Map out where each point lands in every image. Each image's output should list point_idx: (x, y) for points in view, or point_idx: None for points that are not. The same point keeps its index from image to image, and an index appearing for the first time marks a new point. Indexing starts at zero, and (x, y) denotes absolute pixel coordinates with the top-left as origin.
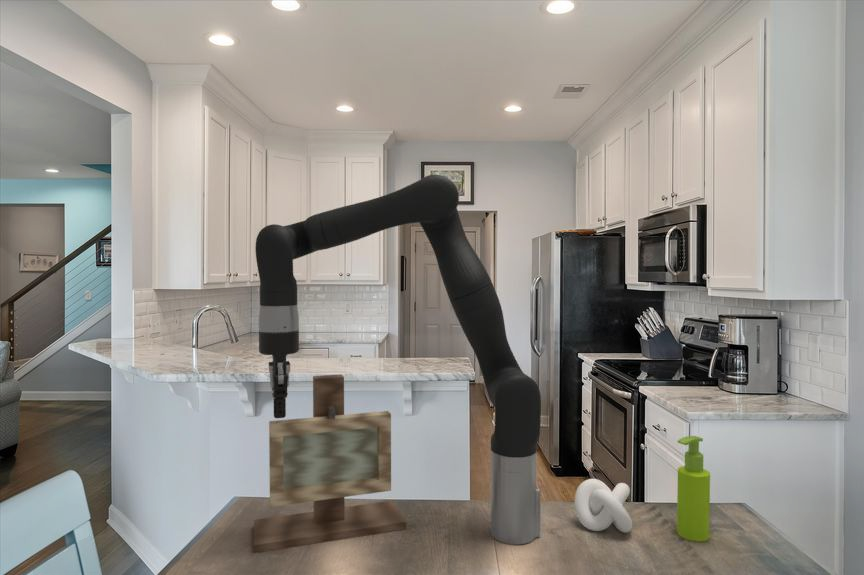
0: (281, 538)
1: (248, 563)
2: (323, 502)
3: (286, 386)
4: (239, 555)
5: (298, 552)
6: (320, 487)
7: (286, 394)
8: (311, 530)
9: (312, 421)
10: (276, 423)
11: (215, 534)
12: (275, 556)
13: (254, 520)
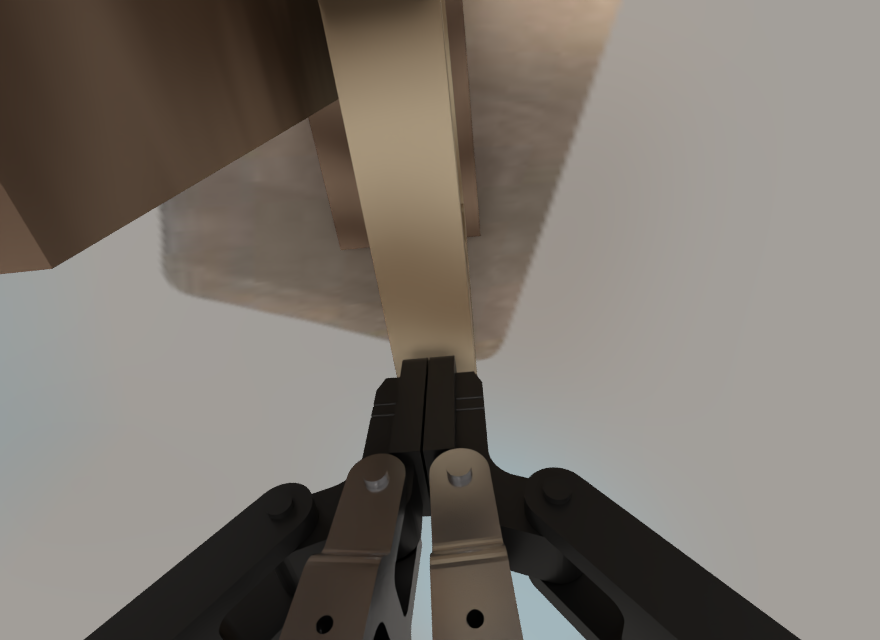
0: (462, 170)
1: (523, 235)
2: None
3: (734, 599)
4: (481, 258)
5: (505, 117)
6: (447, 56)
7: (603, 497)
8: None
9: (452, 150)
10: None
11: (372, 318)
12: (509, 177)
13: (345, 247)
